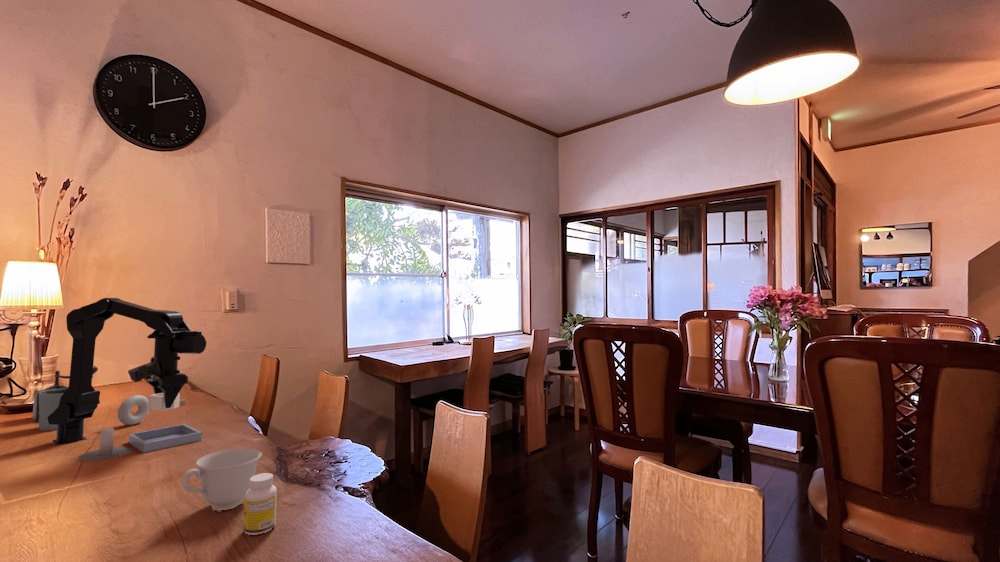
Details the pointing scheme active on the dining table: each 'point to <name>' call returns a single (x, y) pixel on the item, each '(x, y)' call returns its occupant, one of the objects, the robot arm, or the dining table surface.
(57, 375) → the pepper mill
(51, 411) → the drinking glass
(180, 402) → the ring
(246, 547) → the dining table surface
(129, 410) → the donut
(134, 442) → the tray
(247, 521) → the supplement bottle
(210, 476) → the teacup
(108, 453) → the stake
